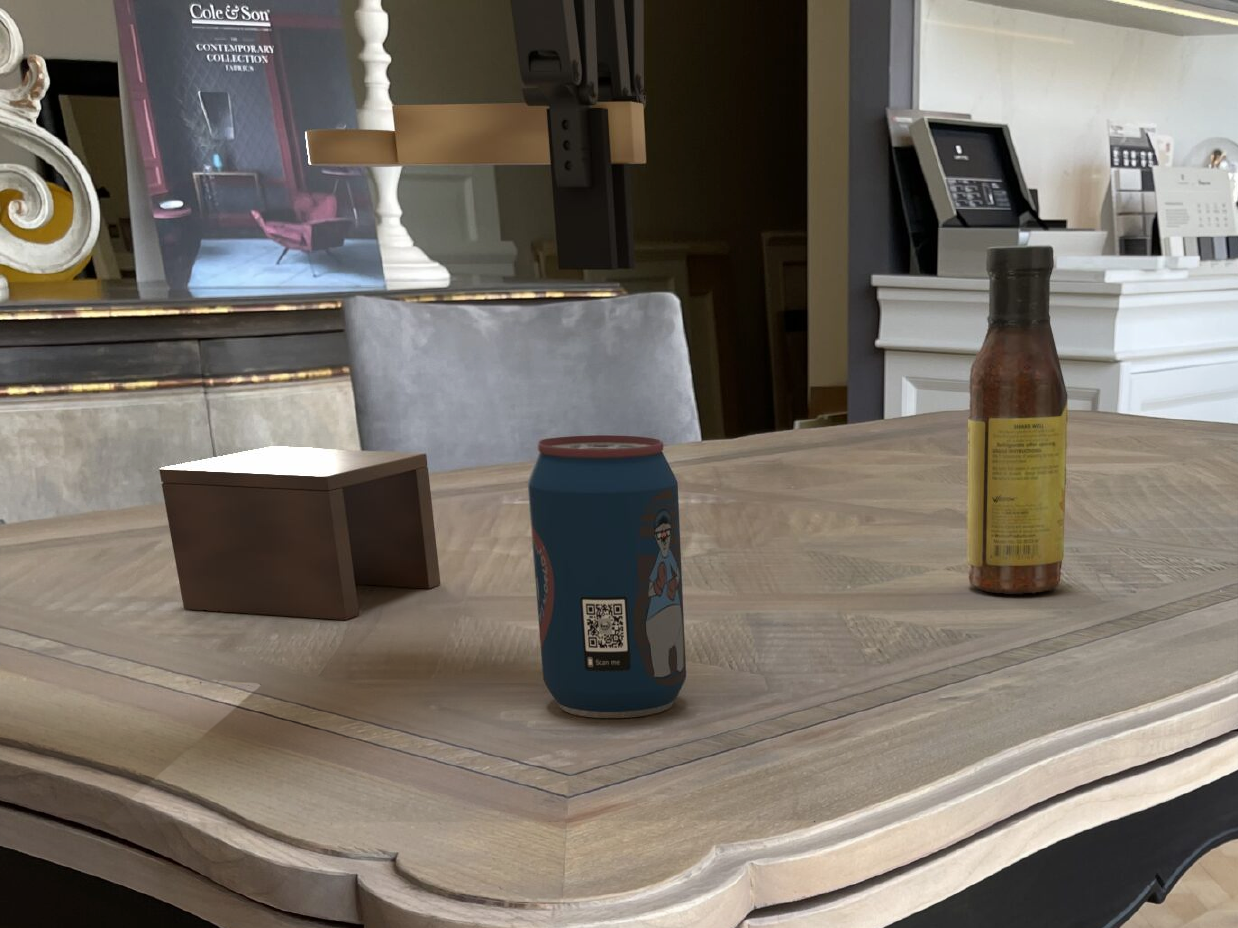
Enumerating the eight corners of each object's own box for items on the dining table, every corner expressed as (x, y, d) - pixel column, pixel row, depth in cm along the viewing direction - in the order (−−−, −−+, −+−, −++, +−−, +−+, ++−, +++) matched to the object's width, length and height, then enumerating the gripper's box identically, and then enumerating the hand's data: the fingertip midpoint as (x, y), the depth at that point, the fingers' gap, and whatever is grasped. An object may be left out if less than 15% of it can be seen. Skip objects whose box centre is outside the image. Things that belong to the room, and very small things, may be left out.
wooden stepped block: (290, 163, 80) (282, 104, 79) (340, 167, 84) (333, 110, 83) (622, 161, 77) (618, 98, 76) (658, 164, 81) (655, 105, 79)
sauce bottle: (1080, 589, 111) (1103, 245, 101) (1017, 601, 107) (1035, 245, 98) (1005, 575, 115) (1020, 244, 106) (942, 587, 111) (951, 244, 102)
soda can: (554, 687, 86) (534, 433, 81) (690, 687, 87) (680, 433, 81) (536, 722, 80) (513, 449, 75) (683, 721, 81) (671, 450, 75)
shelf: (183, 609, 103) (158, 468, 99) (291, 575, 113) (272, 446, 109) (345, 620, 100) (326, 476, 97) (441, 584, 111) (426, 452, 107)
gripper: (569, -441, 63) (613, 272, 74) (699, -331, 75) (720, 266, 87) (386, -425, 65) (456, 271, 76) (543, -319, 77) (583, 265, 88)
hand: (597, 267), depth 81 cm, fingers closed on wooden stepped block, 2 cm apart
